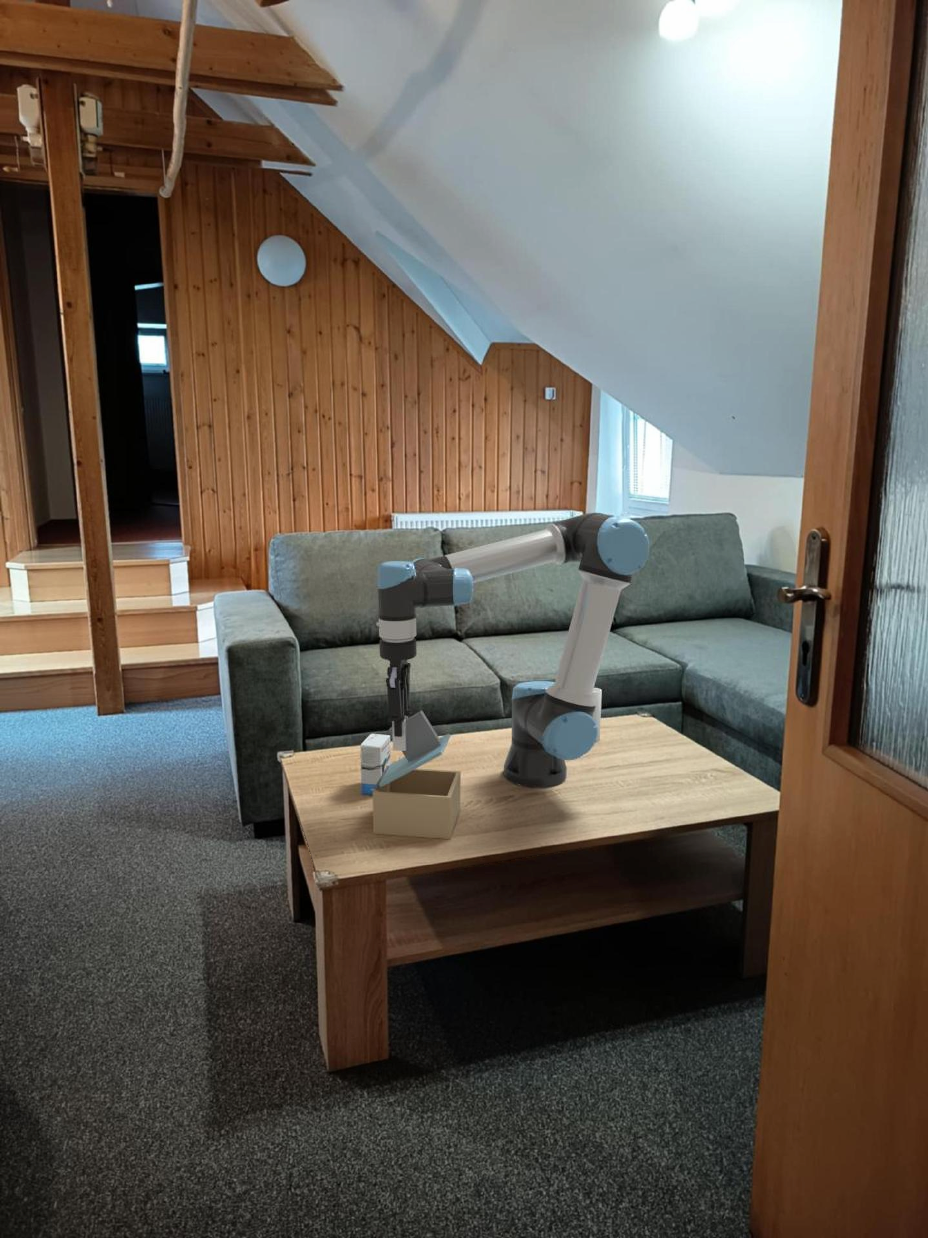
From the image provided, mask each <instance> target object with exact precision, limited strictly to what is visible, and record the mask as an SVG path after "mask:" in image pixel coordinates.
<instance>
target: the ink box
mask: <svg viewBox="0 0 928 1238" xmlns="http://www.w3.org/2000/svg"><path fill="white" fill-rule="evenodd" d="M390 765H391V734H390V735H388V734H379V733H370V734H369V735H368V736H367V737H366V738H365V739H364V740H363V742H361V743H360V774H361V776H360V777H361V778H360V780H361V784H360V785H361V794H363V795H372V796H373V792H374V790H375V785H376V784H377V782H378V781H379V779H380V777H381V776H382V774H383V772H384V771H385V769H386V767H387V766H390Z"/></svg>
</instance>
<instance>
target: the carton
mask: <svg viewBox="0 0 928 1238" xmlns="http://www.w3.org/2000/svg"><path fill="white" fill-rule="evenodd" d="M461 774H462V773H461V771H459V770H447V769H446V770H443V769H427V768H416V769H414V770H412V771H410V772H409V773H407V774H405V775H403V776H401V777H399V778H397V779H395V780H393V781H392V782H390V783H388V784H386V785H384V786H382V787H380V786H379V788H378V789H377V790H376V789H375V790H374V792H373V795H372V822H373V823H372V824H373V835H383V836H384V835H387V836H398V837H399V836H400V837H412V838H425V839H441V840H442V839H443V840H451V839H452V836H453V833H454V830H455V827H456V824H457V821H458V818H459V815H460V812H461V784H462V783H461V782H462V781H461V779H462V778H461Z"/></svg>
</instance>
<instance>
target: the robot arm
mask: <svg viewBox="0 0 928 1238" xmlns="http://www.w3.org/2000/svg"><path fill="white" fill-rule="evenodd" d="M649 554H650V540H649V536H648V534H647V533H646V530H645V529H644V528H643V527H642V525H641V524H639V523H638V522H637V521H635V520H632V519H630V518H627V517H625V516H619V515H612V514H605V513H601V512H590V513H589V512H588V513H584V514H579V515H577V516H573V517H570V518H565V519H563V520H559V521H555V522H551V523H549V524H547V526H546V527H545V529H542V530H538V531H534V532H531V533H527V534H522V535H520V536H515V537H512V538H507V539H504V540H500V541H496V542H491V543H488V544H484V545H481V546H476V547H472V548H468V549H465V550H461V551H457V552H452V553H449V554H445V555H441V556H437V557H434V558H424V557H423V558H422V557H421V558H420V557H419V558H416V559H413V560H411V561H408V560H407V561H405V560H404V561H403V560H400V561H399V560H398V561H397V560H395V561H394V560H393V561H386V562H385V561H384V562H382V563H380V564H379V566H378V567H377V577H376V578H377V579H376V580H377V582H376V588H377V606H378V621H376V622H375V624H376V625H375V626H377V627H379V628H378V631H379V632H378V634H379V635H378V637H380V639H379V641H378V642H379V643H378V645H379V646H378V647H379V649H378V650H379V657H380V658H381V659H382V660H386V661H388V662H389V666H388V667H386V668H387V669H386V670H387V671H386V672H387V673H386V674H387V677H386V679H385V683H386V689H387V702H388V704H387V705H388V714H389V715H388V716H389V717H388V718H387V721H388V722H391V723H392V724H391V727H392V735H391V736H393V737H392V751H401V752H402V751H406V720H405V719H407V718H409V716H412V713H413V712H412V711H409V710H410V708H411V704H410V703H411V702H410V701H411V700H410V697H411V695H410V694H411V693H410V691H411V690H410V687H411V686H410V685H411V683H410V681H411V680H410V679H411V668H412V667H411V666H412V664H411V662H408V660H411V659H414V658H415V657H417V649H418V648H417V639H416V638H415V637H416V636H417V615H416V612H417V609H419V608H420V609H422V608H435V607H437V608H438V607H450V606H451V607H452V606H454V607H457V606H460V605H468V604H469V603H471V601H472V599H473V597H474V589H475V586H474V584H475V583H479V582H483V581H485V580H491V579H495V578H498V577H501V576H505V575H509V574H513V573H516V572H517V573H518V572H520V571H524V570H528V569H532V568H535V567H536V568H537V567H539V566H543V565H547V564H551V563H554V564H556V565H557V566H558V565H559V566H560V565H564V564H567V563H569V564H570V563H579V565H578V566H579V567H578V568H577V569H578V570H577V572H578V573H579V575H580V577H581V580H582V581H581V584H580V589H579V591H578V595H577V599H576V603H575V607H574V611H573V614H572V618H571V621H570V625H569V629H568V633H567V636H566V639H565V644H564V648H563V650H562V655H561V658H560V662H559V666H558V670H557V673H556V676H555V681H549V680H548V681H547V680H543V681H541V680H534V681H525V682H519V683H517V684H516V685H515V686H514V687H513V689H512V695H511V745H510V747H509V750H508V752H507V755H506V757H505V762H504V764H503V776H504V778H505V779H506V780H507V781H509V782H510V783H512V784H515V785H518V786H522V787H527V788H528V787H529V788H548V787H553V786H554V787H555V786H556V785H559V784H561V783H563V782H564V781H566V779H567V777H568V776H567V770H568V769H567V768H568V767H567V764H566V762H565V761H573V760H577V759H579V758H581V757H583V756H584V755H587V753H588V754H589V752H590V751H591V750H592V748H594V745H595V744H596V743H597V742H596V739H597V735H598V728H597V725H596V722H595V720H594V719H593V714H594V711H595V707H596V701H595V700H594V698H593V696H592V692H593V689H594V688H595V684H596V680H597V678H598V673H599V670H600V668H601V667H600V666H601V663H602V660H603V656H604V653H605V648H606V645H607V642H608V638H609V634H610V631H611V627H612V624H613V620H614V617H615V614H616V610H617V606H618V603H619V599H620V596H621V591H622V590H623V589H625V588H627V587H628V586H630V585H631V581H632V578H633V575H634V574H636V572H639V570H640V569H642V568H643V567H644V566H645V564H646V563H647V561H648V558H649Z"/></svg>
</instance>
